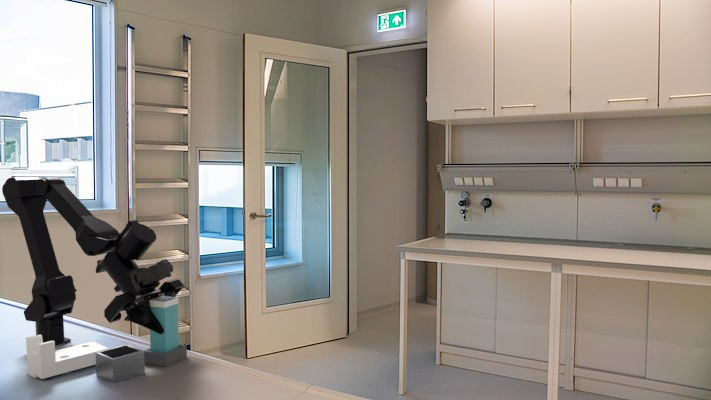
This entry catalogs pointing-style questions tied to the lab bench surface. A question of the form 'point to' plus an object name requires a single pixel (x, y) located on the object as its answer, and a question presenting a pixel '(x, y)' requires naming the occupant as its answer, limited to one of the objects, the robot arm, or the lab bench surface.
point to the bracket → (58, 357)
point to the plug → (165, 324)
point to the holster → (165, 356)
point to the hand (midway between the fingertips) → (169, 329)
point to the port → (120, 363)
